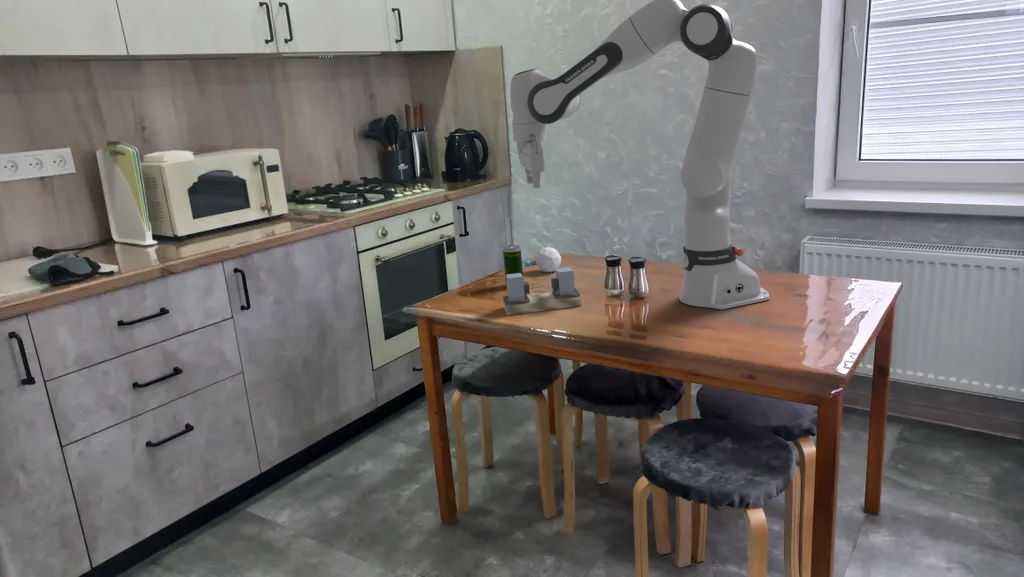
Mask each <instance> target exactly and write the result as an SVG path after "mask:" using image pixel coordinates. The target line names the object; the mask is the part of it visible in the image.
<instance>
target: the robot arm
mask: <svg viewBox="0 0 1024 577" xmlns="http://www.w3.org/2000/svg"><path fill="white" fill-rule="evenodd" d="M677 42H679V43H682V44H683V45H684V47H685V48H686V49H687V50H689V51H690V52H692V54H695V55H696V56H699V57H701V58H702V59H704V60H707V62H708V70H707V72H708V73H707V77H706V80H705V83H704V88H703V91H702V92H703V93H702V96H701V100H700V103H699V108H698V111H697V116H696V118H695V119H696V120H695V122H694V126H693V129H692V131H691V135H690V138H689V142H688V145H687V149H686V150H685V151H686V152H685V155H684V159H683V162H682V166H681V169H680V180H681V183H682V186H683V188H684V189H685V190H686V192H685V194H686V196H685V197H686V198H685V208H684V209H685V210H684V245H683V248H682V251H683V252H682V263H683V269H684V270H683V280H682V286H681V291H680V294H679V297H678V298H679V301H680V302H681V303H683V304H685V305H688V306H693V307H700V308H701V307H702V308H708V309H709V308H711V309H715V310H726V309H730V308H736V307H741V306H745V305H751V304H754V303H759V302H765V301H768V300H770V293H769V292H768V291H767V290H766V289H765V288H763V287H762V286H761V283H760V278H759V275H758V274H757V272H755V271H754V270H753V269H752V268H750V267H749V266H747V265H746V264H745V263H744V262H742V261H740V260H739V259H738V258H737V256H738V257H742V256H743V255H744V254H745V250H744V249H743V248H741V247H735V246H733V245H731V244H730V243H731V242H730V232H731V231H730V228H731V227H730V226H731V225H730V223H731V222H730V220H731V219H730V218H731V201H732V200H731V198H732V171H733V167H732V165H733V164H732V163H733V160H734V157H735V153H736V151H737V146H738V143H739V140H740V136H741V133H742V130H743V127H744V123H745V120H746V116H747V112H748V109H749V105H750V102H751V98H752V96H753V91H754V87H755V83H756V82H755V81H756V75H757V69H758V68H757V67H758V53H757V50H756V49H755V48H754V47H753V46H752V45H750V44H749V43H746V42H744V41H739V40H737V39H734V36H733V25H732V21H731V18H730V16H729V14H728V13H727V12H726V11H725V10H724V9H723V8H722V7H721V6H717V5H714V4H710V3H703V4H698V5H696V6H694V7H692V8H691V9H687V8H686V7H685V6H684V5H683V3H682V1H680V0H652V1H650V2H648V3H647V4H645V5H644V6H642V7H640V8H639V9H637V10H636V11H635V12H633V13H632V14H631V15H630V16H628V17H627V18H625V20H624V21H622V22H621V23H620V24H619V25H618V26H617V27H616V28H615V29H614V30H613V31H611V33H610V34H609V35H608V36H607V37H605V39H604V40H603V41H602V42H601V43H600V44H599V45H598V46H597V47H596V48H595V49H593V51H592V52H591V53H589V54H588V55H587V56H585V57H584V58H583V59H581V60H579V61H578V62H577V63H576V64H574V65H573V66H572V67H571V68H569V69H568V70H567V71H565V72H564V73H563V74H561V75H559V76H558V77H556V78H555V77H551V76H549V75H547V74H545V73H543V72H542V71H541V70H539V69H536V68H532V69H529V70H527V69H526V70H523V71H521V72H518V73H516V74H514V75H513V76H512V77H511V80H510V86H509V88H510V91H509V92H510V93H509V94H510V95H509V97H510V98H509V99H510V108H511V110H512V121H511V122H512V135H513V142H515V143H516V148H517V154H518V159H519V164H520V165H521V166H522V167H523V168H524V172H525V175H526V182H527V184H530V185H531V184H532V188H534V189H540V188H541V172H542V173H543V172H545V169H546V165H545V164H546V162H545V154H544V147H543V146H544V145H543V141H544V140H547V125H550V124H553V123H554V124H555V123H556V122H557V121H560V120H563V119H566V118H570V117H571V116H573V115H574V114H575V113H576V111H577V110H578V109H579V108H580V107H579V106H580V104H581V94H582V93H584V92H586V90H588V89H589V88H591V87H592V86H593V85H594V84H595V85H596V83H597V82H599V81H600V80H602V79H605V78H606V77H608V76H609V77H610V76H611V75H614V74H618V73H621V72H625V71H629V70H633V69H635V68H636V67H639V66H640V65H642V64H644V63H646V62H647V61H649V60H650V59H652V58H653V57H654V56H656V55H657V54H659V53H660V52H661V51H663V49H666V47H668V46H670V45H671V44H674V43H677Z"/></svg>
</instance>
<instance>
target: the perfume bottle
mask: <svg viewBox="0 0 1024 577" xmlns="http://www.w3.org/2000/svg"><path fill="white" fill-rule="evenodd" d="M559 252H560V251H558V250H557V249H555V248H554V247H550V246H549V247H548V246H546V247H543V248H541V249H540V250H539V251H538V253H537V255H536V256H535V260H533V259H530V260H525V262H524V266H525V267H527V268H529V267H533V266H534V267H535V266H538V268H539V270H540V271H541V272H545V273H549V272H551V273H552V272H556V269H557V268H559V267H560V266H561V263H562V256H561V254H560V253H559Z"/></svg>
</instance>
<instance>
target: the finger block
mask: <svg viewBox="0 0 1024 577" xmlns="http://www.w3.org/2000/svg"><path fill="white" fill-rule="evenodd" d="M523 280H524V275H523V276H522V274H521V273H516V274H507V275H506V280H505V283H506V282H507V285H506V292H507V295H508V300H509V302H512V301H520V300H525V296H524V294H527V295H531V294H530V292H531V291H530V284H529V282H528V281H524V282H523Z"/></svg>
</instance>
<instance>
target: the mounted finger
mask: <svg viewBox="0 0 1024 577" xmlns="http://www.w3.org/2000/svg"><path fill="white" fill-rule="evenodd" d="M574 273H575V272H574V269H572V267H571V266H567V267H560V268H559V267H558V268H557V269H556V270H555V277H554V278H550V282H551V289H552V290H554V291H555V290H557V294H558V295H559V296H561V295H569V294H575V289H574V288H575V277H574V275H575V274H574Z"/></svg>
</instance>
